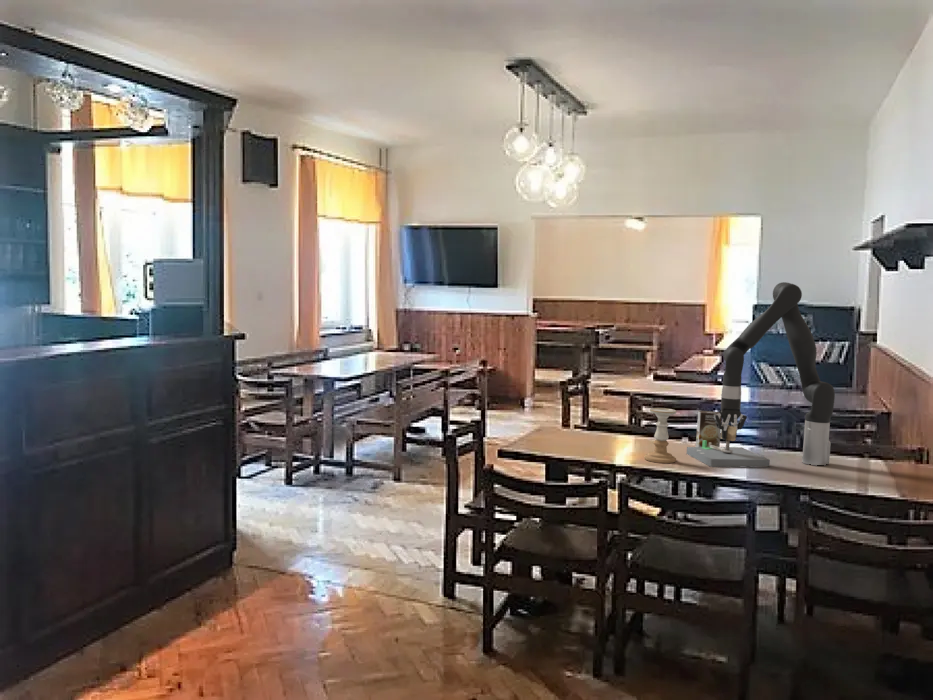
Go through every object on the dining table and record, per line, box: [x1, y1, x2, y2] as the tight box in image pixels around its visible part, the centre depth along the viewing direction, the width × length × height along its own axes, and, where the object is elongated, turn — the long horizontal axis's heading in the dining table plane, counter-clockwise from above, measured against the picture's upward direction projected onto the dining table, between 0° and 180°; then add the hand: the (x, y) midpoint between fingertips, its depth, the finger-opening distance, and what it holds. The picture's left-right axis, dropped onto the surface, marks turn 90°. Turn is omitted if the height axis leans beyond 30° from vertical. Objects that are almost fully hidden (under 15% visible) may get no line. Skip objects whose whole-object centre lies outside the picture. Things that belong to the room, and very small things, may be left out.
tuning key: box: [709, 424, 737, 453], centre depth 349 cm, size 13×4×11 cm, turn 29°
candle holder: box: [644, 407, 677, 464], centre depth 342 cm, size 12×12×20 cm
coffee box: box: [695, 410, 723, 447], centre depth 369 cm, size 9×6×16 cm
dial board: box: [686, 440, 771, 468], centre depth 347 cm, size 24×24×6 cm
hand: (728, 439), depth 346 cm, fingers closed on tuning key, 3 cm apart
